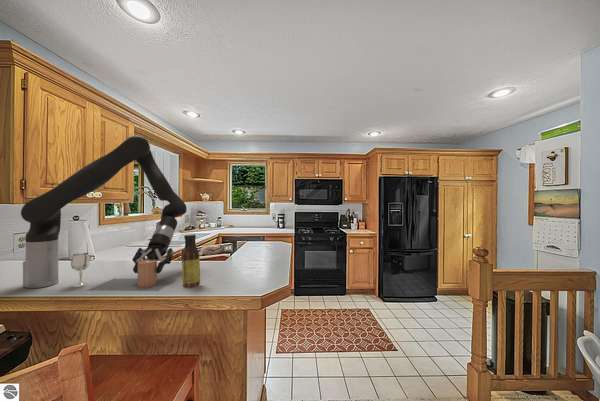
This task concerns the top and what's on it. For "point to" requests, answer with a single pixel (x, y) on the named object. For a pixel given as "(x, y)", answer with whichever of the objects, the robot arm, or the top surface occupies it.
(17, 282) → the top surface
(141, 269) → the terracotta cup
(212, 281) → the top surface
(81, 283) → the wineglass
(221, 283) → the top surface
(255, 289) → the top surface
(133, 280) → the rubber mat
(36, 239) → the robot arm
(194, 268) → the sauce bottle
